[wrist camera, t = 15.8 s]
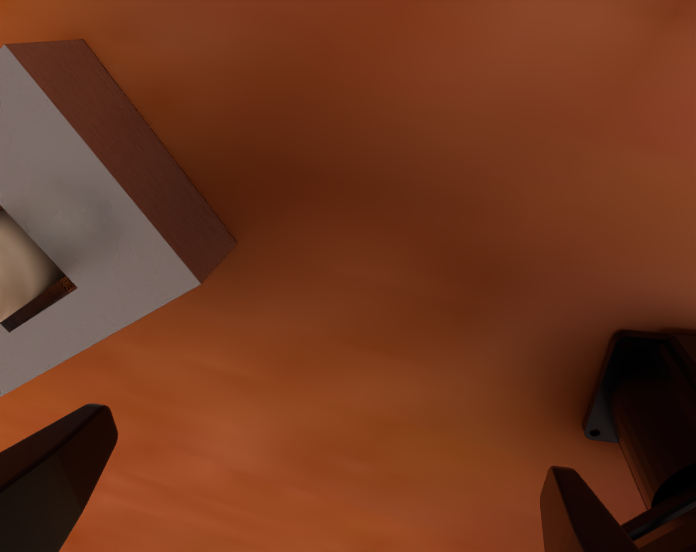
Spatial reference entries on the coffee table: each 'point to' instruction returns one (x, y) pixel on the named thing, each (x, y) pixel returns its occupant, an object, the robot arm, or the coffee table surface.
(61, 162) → the socket block
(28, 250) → the pin
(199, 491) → the coffee table surface
